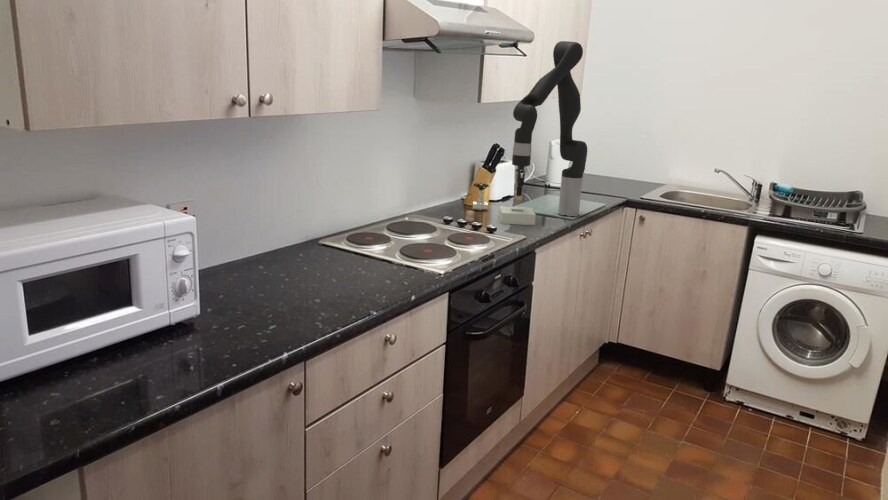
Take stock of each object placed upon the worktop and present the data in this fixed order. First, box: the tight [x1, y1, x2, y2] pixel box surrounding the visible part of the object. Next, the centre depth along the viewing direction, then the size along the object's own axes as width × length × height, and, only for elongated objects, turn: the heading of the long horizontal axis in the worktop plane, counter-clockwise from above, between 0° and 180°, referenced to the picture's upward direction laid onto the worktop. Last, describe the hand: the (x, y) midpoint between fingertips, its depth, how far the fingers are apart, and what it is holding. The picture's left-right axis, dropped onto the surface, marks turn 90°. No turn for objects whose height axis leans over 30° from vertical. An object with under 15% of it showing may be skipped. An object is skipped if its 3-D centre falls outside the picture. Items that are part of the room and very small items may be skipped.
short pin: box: [465, 209, 475, 223], centre depth 272 cm, size 4×4×4 cm
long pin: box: [513, 178, 524, 204], centre depth 272 cm, size 4×4×10 cm
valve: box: [472, 182, 490, 211], centre depth 292 cm, size 7×7×12 cm
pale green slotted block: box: [498, 205, 537, 226], centre depth 275 cm, size 14×14×4 cm
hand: (518, 194), depth 273 cm, fingers closed on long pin, 3 cm apart
